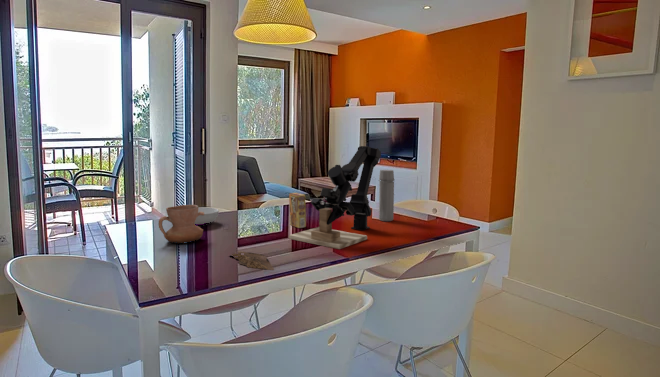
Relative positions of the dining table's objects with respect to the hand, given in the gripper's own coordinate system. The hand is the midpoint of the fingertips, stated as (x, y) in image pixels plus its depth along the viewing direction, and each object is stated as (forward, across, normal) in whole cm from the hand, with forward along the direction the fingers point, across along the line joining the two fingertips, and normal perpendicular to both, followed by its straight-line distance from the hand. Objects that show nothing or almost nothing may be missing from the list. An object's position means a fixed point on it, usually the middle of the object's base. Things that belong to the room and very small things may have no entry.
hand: (323, 223), depth 168 cm
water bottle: (-31, -2, +43) cm, 53 cm away
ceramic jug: (+29, -47, -17) cm, 58 cm away
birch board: (+1, -3, +10) cm, 10 cm away
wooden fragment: (+29, -5, -17) cm, 34 cm away
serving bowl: (+13, -69, -1) cm, 71 cm away
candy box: (-6, -29, +18) cm, 34 cm away
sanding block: (+4, 0, +6) cm, 7 cm away
